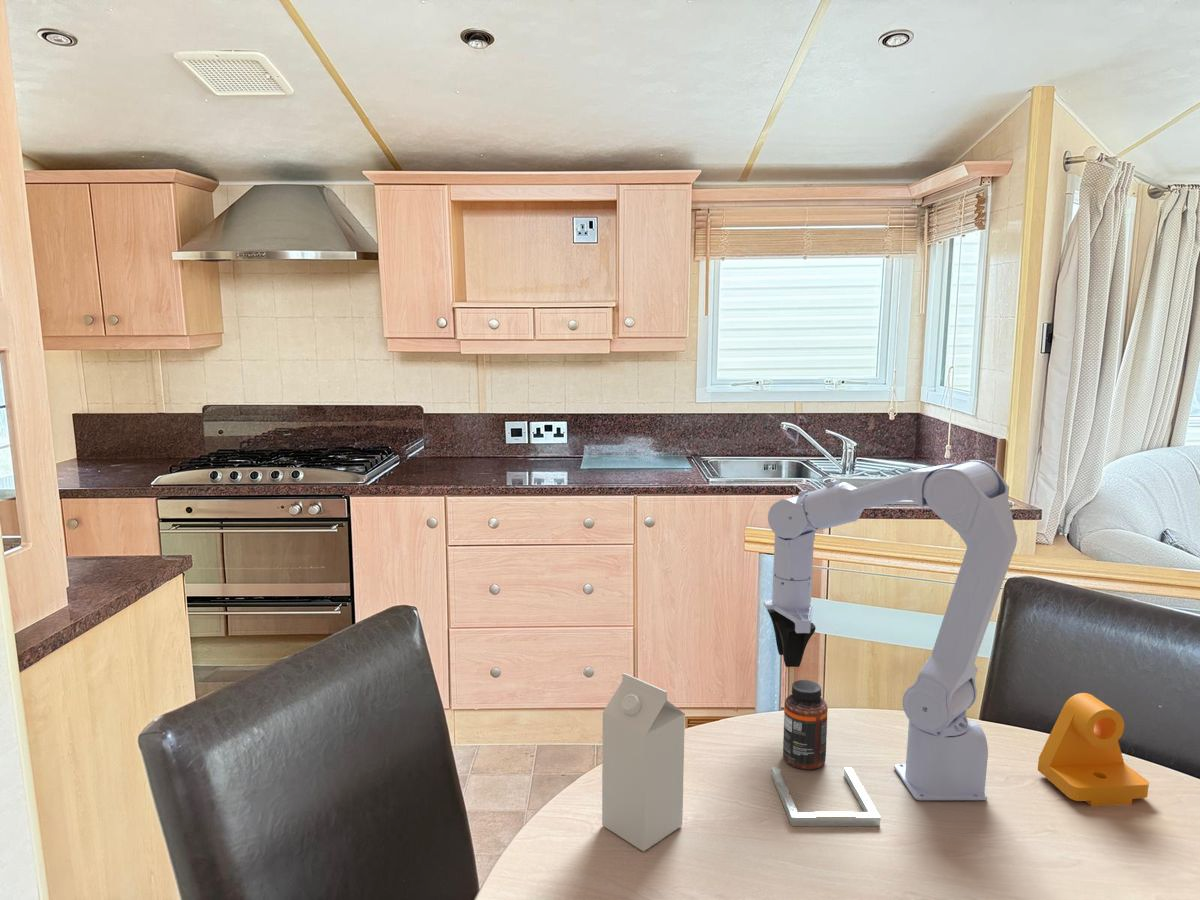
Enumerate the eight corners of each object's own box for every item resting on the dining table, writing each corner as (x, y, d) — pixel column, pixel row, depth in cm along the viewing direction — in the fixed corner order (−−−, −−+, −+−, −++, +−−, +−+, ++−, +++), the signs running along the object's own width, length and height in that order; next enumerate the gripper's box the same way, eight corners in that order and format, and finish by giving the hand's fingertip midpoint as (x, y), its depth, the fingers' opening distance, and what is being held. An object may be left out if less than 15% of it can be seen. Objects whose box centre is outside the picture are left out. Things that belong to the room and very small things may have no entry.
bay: (851, 775, 108) (851, 767, 108) (879, 826, 97) (880, 816, 97) (771, 775, 108) (771, 767, 108) (791, 826, 97) (791, 816, 97)
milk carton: (640, 802, 102) (642, 664, 99) (682, 826, 97) (686, 682, 94) (601, 826, 97) (602, 681, 94) (644, 853, 92) (646, 701, 89)
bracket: (1072, 807, 102) (1081, 720, 100) (1037, 775, 109) (1045, 694, 107) (1150, 803, 102) (1161, 717, 100) (1110, 772, 109) (1119, 691, 108)
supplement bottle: (821, 750, 115) (825, 677, 113) (829, 773, 109) (833, 696, 107) (779, 747, 115) (782, 675, 114) (785, 770, 109) (788, 694, 108)
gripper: (756, 560, 126) (753, 641, 128) (777, 591, 111) (773, 681, 114) (800, 560, 126) (796, 641, 128) (826, 591, 112) (822, 681, 114)
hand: (788, 660), depth 121 cm, fingers open, 4 cm apart
